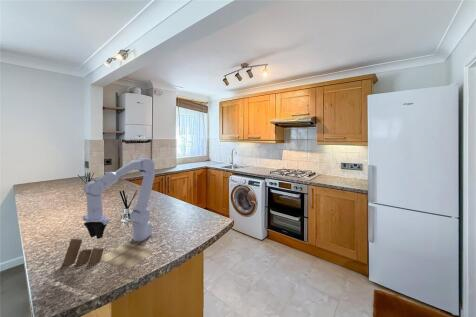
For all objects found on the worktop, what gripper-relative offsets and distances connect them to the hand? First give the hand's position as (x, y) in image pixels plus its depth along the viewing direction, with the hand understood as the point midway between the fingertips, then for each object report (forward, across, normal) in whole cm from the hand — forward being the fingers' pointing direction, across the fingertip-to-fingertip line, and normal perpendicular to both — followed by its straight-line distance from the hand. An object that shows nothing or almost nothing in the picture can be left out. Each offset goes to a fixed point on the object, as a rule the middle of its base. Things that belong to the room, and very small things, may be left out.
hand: (96, 237), depth 97 cm
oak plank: (+9, +6, +5) cm, 12 cm away
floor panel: (+9, +16, +5) cm, 20 cm away
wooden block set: (+10, -3, -6) cm, 12 cm away
